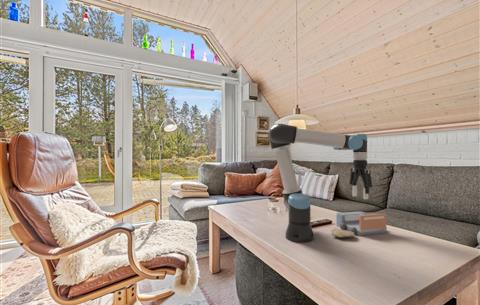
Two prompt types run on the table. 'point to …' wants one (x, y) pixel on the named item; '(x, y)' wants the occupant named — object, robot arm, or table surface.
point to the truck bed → (354, 223)
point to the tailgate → (372, 221)
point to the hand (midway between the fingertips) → (360, 197)
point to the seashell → (342, 233)
